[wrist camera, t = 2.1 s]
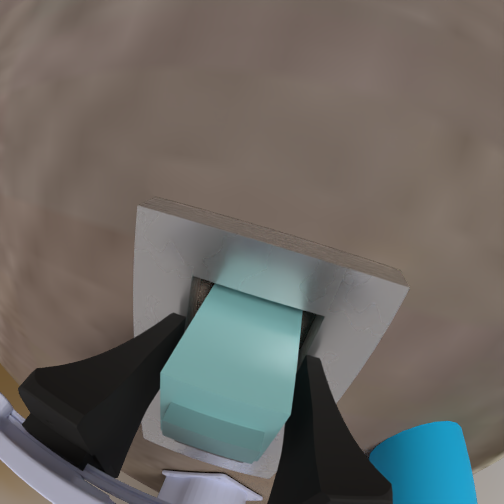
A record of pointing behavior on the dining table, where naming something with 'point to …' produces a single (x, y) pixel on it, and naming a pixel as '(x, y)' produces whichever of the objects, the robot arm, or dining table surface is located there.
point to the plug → (232, 375)
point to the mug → (427, 465)
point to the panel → (261, 285)
